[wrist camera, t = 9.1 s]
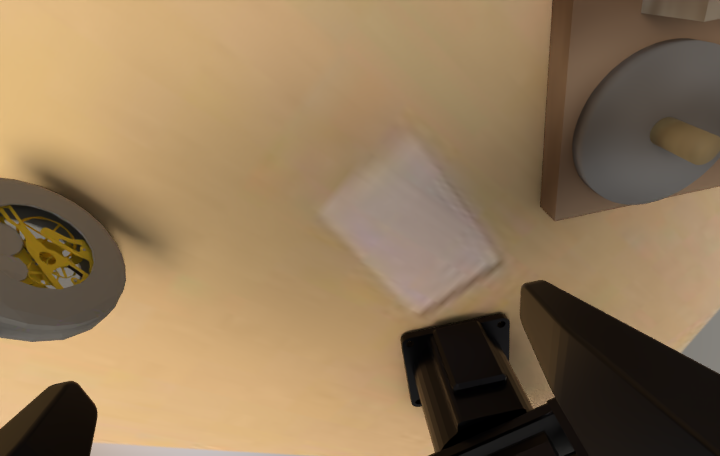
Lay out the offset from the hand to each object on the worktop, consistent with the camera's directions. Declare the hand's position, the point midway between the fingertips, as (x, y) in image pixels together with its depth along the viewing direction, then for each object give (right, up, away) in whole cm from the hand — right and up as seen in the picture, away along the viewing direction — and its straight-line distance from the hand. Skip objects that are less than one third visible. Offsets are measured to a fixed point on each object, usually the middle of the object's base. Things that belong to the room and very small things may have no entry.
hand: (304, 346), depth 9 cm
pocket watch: (-13, +2, +11) cm, 17 cm away
